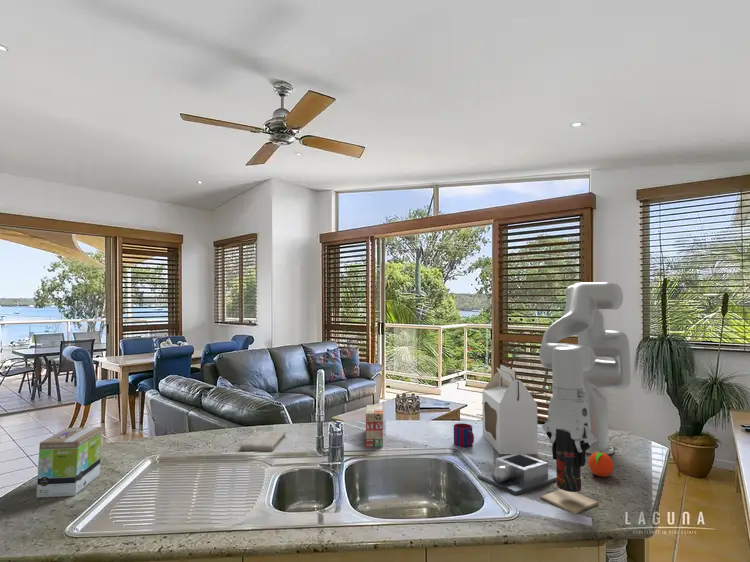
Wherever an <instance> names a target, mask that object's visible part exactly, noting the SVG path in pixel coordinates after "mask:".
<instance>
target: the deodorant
mask: <svg viewBox="0 0 750 562" xmlns="http://www.w3.org/2000/svg"><path fill="white" fill-rule="evenodd" d="M576 451H578V450H577V448H576V445H575V442H574V440H573V439H571V435H570V433H569V432H565V431H562V430H558V429H556V460H555V461H556V463H555V465H556V467H555V468H556V470H555V471H556V472H557V481H556V487H557V489H558V490H559V489H561V490H564V491H568V492H575V493H578V492H580V491H582V469H581V468H582V467H579V468H578V467H576V466H575V452H576Z"/></svg>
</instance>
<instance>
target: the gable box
mask: <svg viewBox="0 0 750 562" xmlns="http://www.w3.org/2000/svg"><path fill="white" fill-rule="evenodd" d="M495 368H496V370H497V371H496V372H495V373H494V375H493V376H492V378H491V379H490V380H489V382H488V383H487V385H485V387H484V389H483V390H482V393H481V394H482V396H481V397H482V435H483V437H484V438H485V439H486V440H487V441H488V443H489V444H490V445H491V446H492V447H493V448H494V450H495V451H496V452H497V453H498V454H499V455H500V454H514V453H518V452H520V453H522V454H525V455H538V454H539V453H538V452H539V449H538V448H539V446H538V445H539V444H538V442H539V441H538V439H539V437H538V436H539V435H538V403H537V402H536V400H535V399H534V398H533V396H532V394H531V393H530V392H529V390H528V389H527V387H526V385H525V384H524V382H522V380H520V379H517V372H516V370H514V369H512V368H511V367H508V366H506V365H504V364H500V367H498V366H497V367H495Z"/></svg>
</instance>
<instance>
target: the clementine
mask: <svg viewBox="0 0 750 562" xmlns="http://www.w3.org/2000/svg"><path fill="white" fill-rule="evenodd" d="M587 463H588V467H589V470H590V471H591V472H592V473H593V474H594V475H595V476H598V477H604V478H605V477H608V476H610V475H611V474H612V473H613V472H614V468H615V463H614V461H613V459H612V458H611V456H610V455H609V454H608V455H607V454H605V453H603V452H595V453H593V454H590V456H589V457H588V461H587Z"/></svg>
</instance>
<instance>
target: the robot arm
mask: <svg viewBox="0 0 750 562" xmlns="http://www.w3.org/2000/svg"><path fill="white" fill-rule="evenodd" d="M565 298H566V300H565V306H564V310H563V316H561V317H560V318H558V319H557V320H555V321H554V322H553V323H552V324H551V325H549V326H548V327H547V329H546V330H545V331H544V333H543V336H542V341H541V345H540V349H539V361H540V363H541V365H542V366H543V367H545V368H546V369H549V370H551V372H552V373H551V378H552V380H551V382H552V384H551V387H552V389H551V390H552V396H550V400H549V404H548V411H547V414H548V415H547V421H545V422H544V424H542V425H541V427H542V430H543V431H544V432H545V433H546V436H547V437H548V438H549V442H550V444H551V445H552V446H551V449H552V459H553V460H555V461H556V429H558V430H562V431H565V432H569V433H570V435H571V439H573V440H574V442H575V445H576V448H577V450H578V451H576V452H575V466H576V467H578V468H579V467H581V468H582V467H585V465H586V460H587V459H586V454H589V455H592V454H593V453H595V452H603V453H605V454H607V455H608V456H609V455H612V454H613V453H614V448H613V446H611V445H610V442H612V441H613V440H614V439H615V437H614V435H613V434H609V402H608V399H607V397H606V395H605V393H604V392H603V391H602V389H601V388H604V389H613V390H614V389H615V390H625V389H628V388H629V386H630V385H631V377H632V376H631V353H630V352H631V351H630V341H629V337H628V335H627V333H626V332H623V331H622V330H614V329H613V330H608V329H605V325H604V324H605V321H604V319H605V318H604V315H603V313H602V312H601V311H600V310H619V309H620V308H621V306H622V304H623V301H624V294H623V289H622V287H621V286H620V285H619V284H618V283H615V282H610V281H609V282H608V281H598V282H592V281H590V282H584V281H583V282H578V283H577V282H576V283H574V284H571V285H569V286H567V287H566V289H565ZM576 335H577V343H569V342H568V343H567V342H566V343H565V342H560V341H561V340H564V339H566V338H569V337H573V336H576ZM596 358H607V359H612V360H607V359H606V360H604V359H596Z"/></svg>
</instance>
